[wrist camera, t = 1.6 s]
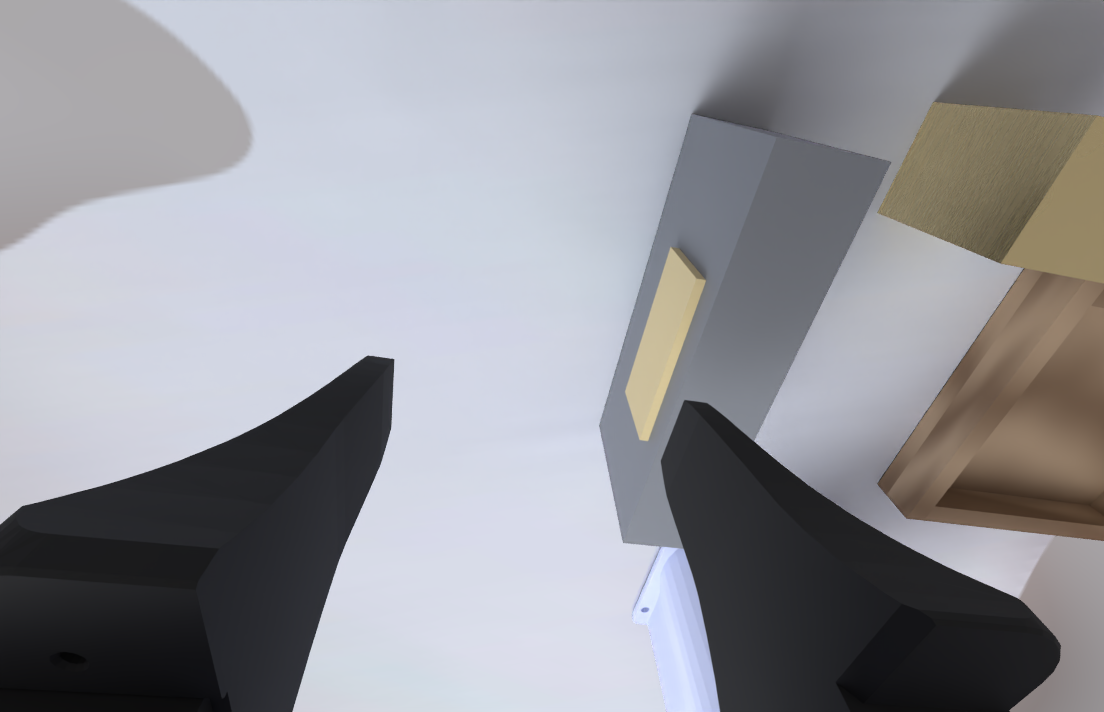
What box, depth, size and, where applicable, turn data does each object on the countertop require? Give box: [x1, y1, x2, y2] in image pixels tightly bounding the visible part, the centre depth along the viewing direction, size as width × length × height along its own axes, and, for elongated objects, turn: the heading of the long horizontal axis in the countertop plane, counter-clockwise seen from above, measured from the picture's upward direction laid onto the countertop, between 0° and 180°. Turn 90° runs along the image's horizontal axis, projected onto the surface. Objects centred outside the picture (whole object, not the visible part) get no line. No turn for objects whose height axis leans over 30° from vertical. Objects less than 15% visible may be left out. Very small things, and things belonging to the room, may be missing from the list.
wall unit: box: [599, 114, 891, 549], centre depth 18 cm, size 14×3×7 cm, turn 169°
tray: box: [878, 268, 1104, 541], centre depth 24 cm, size 13×13×2 cm
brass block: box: [878, 102, 1104, 283], centre depth 17 cm, size 4×4×6 cm
